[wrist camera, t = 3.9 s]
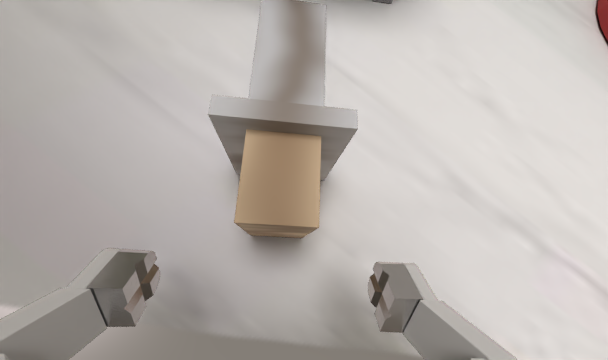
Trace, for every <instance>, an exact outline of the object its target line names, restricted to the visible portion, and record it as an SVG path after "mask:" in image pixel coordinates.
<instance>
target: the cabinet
mask: <svg viewBox="0 0 608 360" xmlns="http://www.w3.org/2000/svg"><path fill="white" fill-rule="evenodd" d="M372 1H376V2H383V3H390V4H391V3H392V1H393V0H372Z"/></svg>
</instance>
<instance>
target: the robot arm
mask: <svg viewBox="0 0 608 360" xmlns="http://www.w3.org/2000/svg"><path fill="white" fill-rule="evenodd" d="M156 260H157V257H156V254H155V252H153V251H145V250H131V249H114V248H107V249H104V250H102V251H101V252H100V253H99V254H98V255H97V256H96V257H95V258H94V259H93V261H92V262H91V263H90V264H89V265H88V266H87V267H86V268H85V269H84V270H83V271H82V272H81V273H80V274H79V275H78V276H77V277H76V278H75V279H74V280H73V281H72V282H71V283H70V284H69V285H68V286H67V287H66V288H59V289H58V290H56V291H54V292H52V293H50V294H48V295H46V296H44V297H42V298H40V299H38V300H36V301H34V302H32V303H31V304H29V305H27V306H25V307H23V308H21V309H19V310H17V311H15V312H13V313H11V314H10V315H7V316H5V317H4V318H2V319H0V360H69V359H70V358H71V357H73V356H74V355H75V354H76V353H78V352H79V351H80V350H81V349H82V348H84V347H85V346H86V345H87V344H88V343H90V342H91V341H92V340H93V339H95V338H96V337H97V336H98V335H99V334H101V333H102V332H103V331H104V330H106V329H107V327H118V326H119V327H120V326H121V327H129V326H136V324H137V323H138V321H139V319H140V317H141V316H142V314H143V312H144V311H145V309H146V303H145V301H146V300H147V299H149V298H150V297H152V296H153V295H154V293H155V291H156V289H157V287H158V284H159V280H160V270H159V267H157V266H156V265H155V264H154V263H155V261H156ZM373 271H374V274H373V275H372V276H371V277H370V278H369V282H368V294H369V298H370V302H371V303H372V304H373V305H374V306H375V307H376V311H375V313H374V314H375V317H376V320H377V323H378V326H379V330H380V332H399V333H403V335H404V336H405V337H406V338H407V340H408V341H409V342H410V343H411V344H412V345H413V347H414V348H415V349H416V350H417V351H418V352H419V354H420V355H421V356H422V357H423V358H424V359H425V360H517V358H516V357H514V356H513V355H512V354H511V353H509V352H508V351H507V350H505V349H504V348H503V347H501V346H500V345H499V344H498V343H496V342H495V341H494V340H492V339H491V338H490V337H488V336H487V335H486V334H485V333H483V332H482V331H481V330H479V329H478V328H477V327H476V326H474V325H473V324H472V323H470V322H469V321H468V320H466V319H465V318H464V317H463V316H461V315H460V314H459V313H457V312H456V311H455V310H453V309H452V308H451V307H450V306H448V305H447V304H446V303H444V302H443V301H438V299H437V298H436V296H435V294H434V293H433V291H432V289H431V288H430V286H429V284H428V283H427V281H426V279H425V278H424V276H423V274H422V273H421V271H420V269H419V268H418V266H417V265H416V264H415V263H395V262H376V263H375V264H374V267H373Z"/></svg>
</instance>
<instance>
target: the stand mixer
mask: <svg viewBox="0 0 608 360" xmlns="http://www.w3.org/2000/svg"><path fill="white" fill-rule="evenodd" d="M597 12H598V17H599V22H600V26H601V29H602V31H603V33H604V35H605V37H606V39H607V41H608V0H598V9H597Z"/></svg>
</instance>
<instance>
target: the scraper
mask: <svg viewBox="0 0 608 360" xmlns="http://www.w3.org/2000/svg"><path fill="white" fill-rule="evenodd" d="M325 41H326V5H324V4H317V3H310V2H303V1H296V0H261V6H260V14H259V21H258V29H257V36H256V44H255V51H254V59H253V67H252V74H251V82H250V89H249V97H248V98H240V97H231V96H221V95H212V96H211V101H210V107H209V112H208V115H209V117H210V119H211V121H212V123H213V126H214V128H215V130H216V132H217V134H218V136H219V138H220V140H221V142H222V144H223V146H224V148H225V151H226V153H227V155H228V157H229V159H230V161H231V163H232V165H233V167H234V169H235V171H236V173H237V174H240V182H239V189H238V197H237V205H236V212H235V220H234V223H235V224H237V225H238V226H239V227H241V228H242V229H243V230H244V231H246V232H247V233H248V234H250V235H254V236H273V237H292V238H303V237H305V236H306V235H308V234H309V233H311V232H312V231H314V230H316V229H317V228H319V207H320V180H325V178H326V177H327V175H328V174H329V172H330V171H331V169H332V168H333V166H334V164H335V163H336V161H337V160H338V158H339V157H340V155H341V154H342V152H343V151H344V149H345V148H346V146H347V145H348V143H349V142H350V140H351V138H352V137H353V135H354V134H355V132H356V131H357V129H358V119H357V110H354V109H344V108H335V107H325V106H324V88H325Z"/></svg>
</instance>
